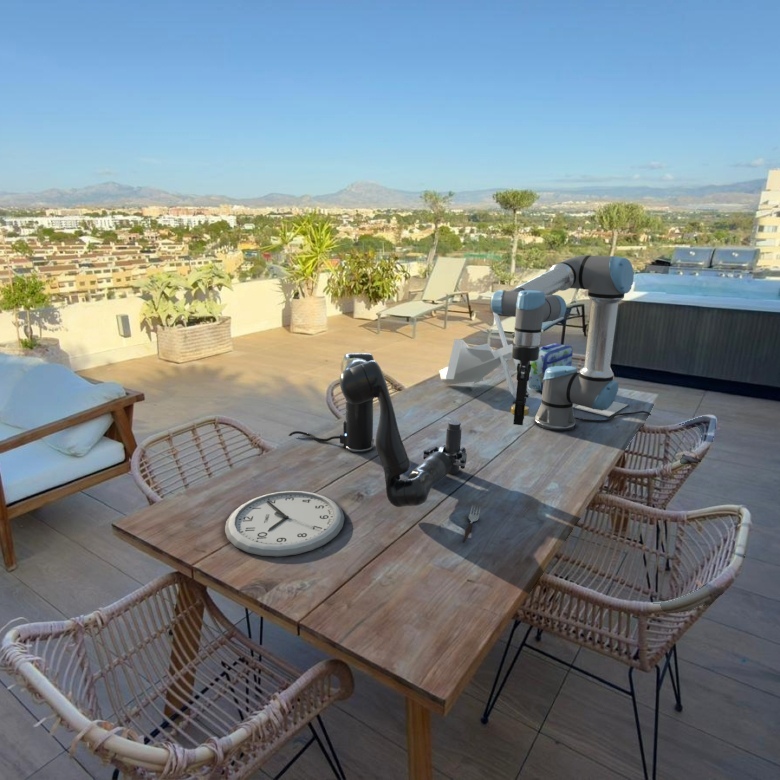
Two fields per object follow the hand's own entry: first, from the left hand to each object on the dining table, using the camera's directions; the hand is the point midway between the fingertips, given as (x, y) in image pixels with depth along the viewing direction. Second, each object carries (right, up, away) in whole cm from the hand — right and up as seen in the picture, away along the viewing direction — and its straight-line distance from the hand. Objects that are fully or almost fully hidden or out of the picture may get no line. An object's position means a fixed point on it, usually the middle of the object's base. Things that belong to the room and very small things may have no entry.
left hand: (455, 448), depth 165 cm
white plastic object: (+21, +17, +78) cm, 83 cm away
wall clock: (-48, -16, -30) cm, 59 cm away
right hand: (+18, +9, -8) cm, 21 cm away
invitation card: (+71, +11, +61) cm, 94 cm away
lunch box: (+56, +19, +87) cm, 105 cm away
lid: (+18, +13, -9) cm, 24 cm away
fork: (-1, -17, -32) cm, 36 cm away
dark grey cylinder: (-1, -7, 0) cm, 7 cm away
